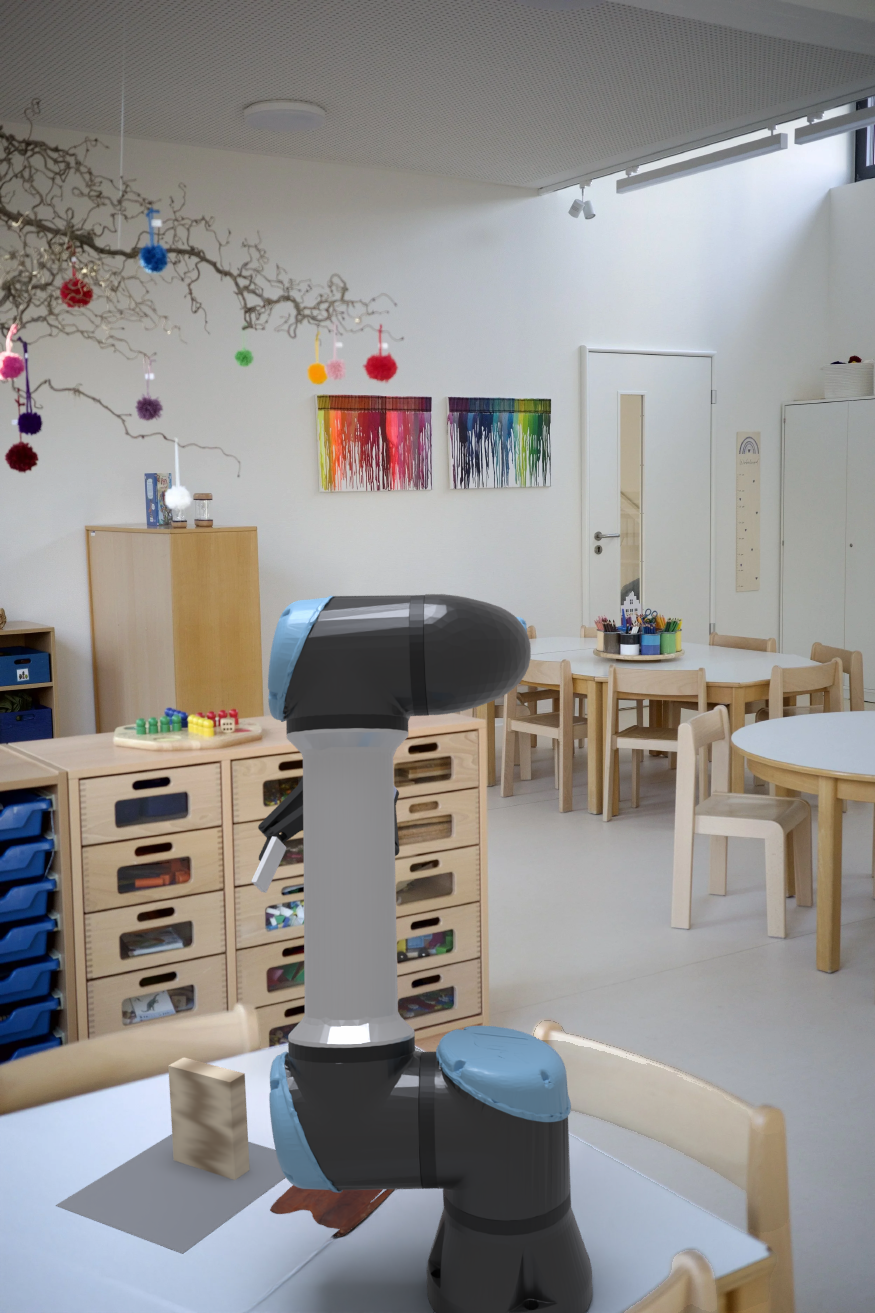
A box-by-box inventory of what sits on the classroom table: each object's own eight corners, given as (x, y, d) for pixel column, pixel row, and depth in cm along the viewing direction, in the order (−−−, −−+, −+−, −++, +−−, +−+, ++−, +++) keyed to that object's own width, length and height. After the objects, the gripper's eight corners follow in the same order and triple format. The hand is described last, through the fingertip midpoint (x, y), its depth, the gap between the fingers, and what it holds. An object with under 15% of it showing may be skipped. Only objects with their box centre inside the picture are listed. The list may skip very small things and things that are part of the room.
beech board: (250, 1169, 131) (245, 1073, 130) (235, 1180, 129) (229, 1082, 128) (189, 1150, 136) (183, 1057, 135) (173, 1160, 134) (168, 1065, 133)
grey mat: (309, 1165, 133) (309, 1160, 133) (183, 1259, 116) (182, 1253, 116) (188, 1128, 142) (188, 1123, 142) (55, 1211, 125) (55, 1205, 125)
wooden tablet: (345, 1247, 118) (345, 1231, 118) (262, 1224, 123) (261, 1208, 123) (462, 1126, 142) (461, 1112, 142) (388, 1110, 146) (387, 1097, 146)
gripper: (458, 773, 153) (401, 922, 142) (301, 759, 166) (238, 895, 155) (436, 740, 148) (375, 892, 137) (276, 728, 161) (208, 867, 150)
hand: (302, 894), depth 146 cm, fingers open, 13 cm apart
